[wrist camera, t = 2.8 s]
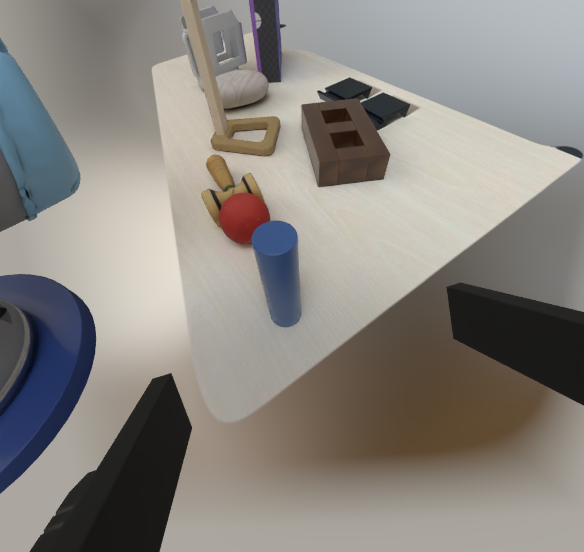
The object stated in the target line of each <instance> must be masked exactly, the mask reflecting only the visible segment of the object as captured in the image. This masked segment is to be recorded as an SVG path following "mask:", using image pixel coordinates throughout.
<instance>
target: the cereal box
mask: <svg viewBox="0 0 584 552" xmlns="http://www.w3.org/2000/svg"><path fill="white" fill-rule="evenodd" d="M249 5H250V12H251V20H252V28H253V36H254V44H255V52H256V60H257V68H258V72H260V73H262V74H263V75H264V76H265V77H266V78H267V81H268V82H281V55H282V52H281V37H280V21H279V5H278V0H249Z"/></svg>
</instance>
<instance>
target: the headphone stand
mask: <svg viewBox="0 0 584 552" xmlns="http://www.w3.org/2000/svg"><path fill="white" fill-rule="evenodd" d="M180 4H181V7H182V11H183V15H184V18H185V22H186V26H187V29H188V33H189V36H190V40H191V44H192V47H193V51H194V55H195V58H196V62H197V66H198V69H199V73H200V77H201V80H202V84H203V87H204V91H205V95H206V98H207V102H208V106H209V109H210V113H211V117H212V120H213V124H214V127H215V133H214V135H213V137H212V139H211V144H212V147H213V149H215V150H221V151H229V152H237V153H246V154H254V155H262V156H268V155H271V154H272V153H273V152H274V148H275V144H276V141H277V137H278V133H279V129H280V120H279V118H277V117H260V118H247V119H234V120H226V116H225V112H224V108H223V104H222V100H221V96H220V93H219V89H218V85H217V81H216V77H215V73H214V69H213V65H212V61H211V57H210V53H209V49H208V45H207V41H206V37H205V33H204V29H203V25H202V21H201V17H200V13H199V9H198V5H197V1H196V0H180ZM256 129H267V132H266V135H265V138H264V140H263V141H261V142H252V141H243V140H235V139H231V138H232V135H233V133H234V132H235V131H243V130H256Z"/></svg>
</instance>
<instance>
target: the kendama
mask: <svg viewBox="0 0 584 552" xmlns="http://www.w3.org/2000/svg"><path fill="white" fill-rule="evenodd" d="M206 166H207V169H208V171H209V172H210V173H211V175H212V176H213V178H214V179H215V181H216V182H217V184H218V185H219V187H220V188H221V189H222V190H223V191H224V192H218V191H214V190H211V189H207V190H205V191H203V192H202V193H201V195H202V198H203V200H204V203H205V205H206V207H207V209H208V211H209V213H210V214H211V216H212V218H213V220H214V221H215V223H216V224H217V225H218V226H219V227H222V229H223V231H224V233H225V234H226V235H227V236H228V237H229V238H230V239H232V240H234V241H236V242H238V243H243V244H248V243H252V241H251V238H252V235H253V232H254V231H255V229H256V228H257V227H259V226H260V225H262V224H264V223H266V222H269V221H270V214H269V211H268V208H267V206H266V204H265V203H264V199H263V196H262V194H261V191H260V189H259V187H258V185H257V183H256V181H255V179H254V177H253V176H252V174H251V173H248V174H245V175H244V176H243V178H242V180H241V182H240V183H239V185H238V186H236V187H235V185H234V182H233V179H232V176H231V174H230V172H229V170H228V167H227V165H226V162H225V160H224V159H223V158H222V157H221V156H219V155H212V156H210V157H209V158H208V160H207V163H206Z"/></svg>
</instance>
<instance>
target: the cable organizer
mask: <svg viewBox="0 0 584 552" xmlns="http://www.w3.org/2000/svg"><path fill="white" fill-rule="evenodd" d="M199 13H200V17H201V21H202V25H203V29H204V33H205V37H206V41H207V45H208V49H209V53H210V57H211V61H212V65H213V69H214V73H215V77H216V76H219V75H221V74H224V73H227V72H231V71H235V70H239V69H238V66H241V65H243V64H245V63H246V62H247V59H246V52H245V46H244V39H243V33H242V26H241V23H240V22H238V20H237V18H236V17H235V15H234V13H233V12H232V10H228V11H225V12H222V13H218V11H217V10H216V8H215V7H214V6H211V7H207V8H204V9H201V10H199ZM180 21H181V25H182V28H183V32H184V33H183V35H182V37H183V41H184V45H185V48H186V51H187V55H188V58H189V61H190V65H191V68H192V71H193V75H194V76H195V77H197V80H198V83H199V86H200V87H201V88H202V89H203V90H204V87H203V84H202V80H201V77H200V73H199V69H198V66H197V62H196V58H195V55H194V51H193V47H192V44H191V40H190V36H189V33H188V29H187V26H186V22H185V18H184V15H182V16H181V17H180ZM220 31H222V32H223V37H224V42H225V47H226V53H224V54H221V55H219V56H217V55H216V54H218V53H221V52H223V51H224V47H223V42H222V37H221V32H220ZM228 58H233V59H231V60H229V61H226V62H224V63H221V64H219V63H218V62H221V61H223V60H226V59H228Z"/></svg>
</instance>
